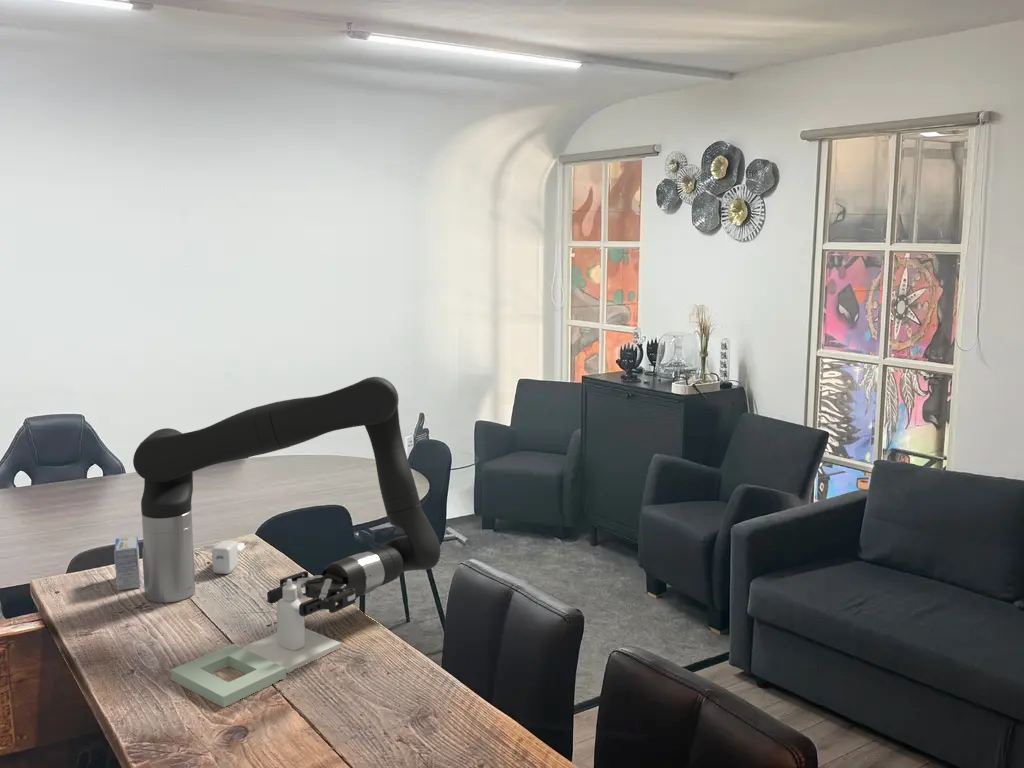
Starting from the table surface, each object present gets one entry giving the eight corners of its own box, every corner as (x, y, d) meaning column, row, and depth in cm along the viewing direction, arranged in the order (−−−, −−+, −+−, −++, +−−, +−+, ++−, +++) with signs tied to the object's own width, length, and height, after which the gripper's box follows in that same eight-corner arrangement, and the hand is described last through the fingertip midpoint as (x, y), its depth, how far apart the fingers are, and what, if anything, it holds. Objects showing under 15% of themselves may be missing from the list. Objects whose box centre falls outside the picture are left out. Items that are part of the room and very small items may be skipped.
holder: (171, 679, 150) (170, 669, 150) (233, 653, 160) (232, 643, 159) (223, 707, 142) (223, 696, 142) (286, 678, 151) (285, 667, 151)
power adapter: (229, 555, 206) (228, 530, 205) (250, 556, 205) (249, 531, 204) (209, 574, 195) (208, 548, 194) (231, 575, 194) (230, 549, 193)
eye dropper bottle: (302, 636, 164) (300, 572, 162) (305, 650, 159) (304, 584, 157) (277, 639, 163) (275, 575, 161) (279, 653, 158) (277, 587, 156)
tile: (241, 652, 160) (241, 647, 160) (296, 629, 169) (296, 624, 169) (286, 673, 153) (286, 668, 153) (341, 648, 162) (341, 642, 162)
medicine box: (140, 588, 187) (138, 547, 186) (116, 591, 185) (113, 550, 184) (140, 574, 194) (138, 535, 193) (117, 577, 193) (114, 537, 191)
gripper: (327, 548, 175) (257, 573, 162) (381, 566, 166) (311, 594, 153) (328, 586, 176) (258, 614, 163) (381, 605, 168) (312, 636, 155)
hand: (284, 604), depth 158 cm, fingers open, 8 cm apart
